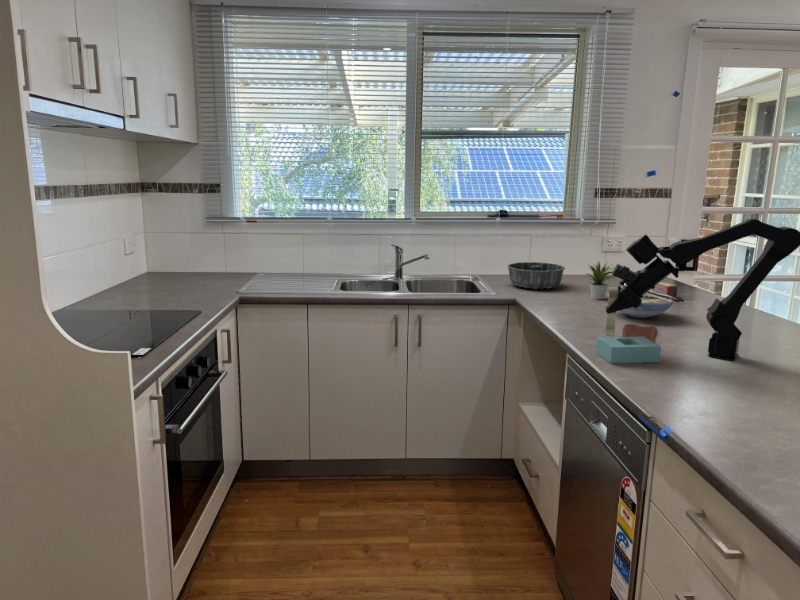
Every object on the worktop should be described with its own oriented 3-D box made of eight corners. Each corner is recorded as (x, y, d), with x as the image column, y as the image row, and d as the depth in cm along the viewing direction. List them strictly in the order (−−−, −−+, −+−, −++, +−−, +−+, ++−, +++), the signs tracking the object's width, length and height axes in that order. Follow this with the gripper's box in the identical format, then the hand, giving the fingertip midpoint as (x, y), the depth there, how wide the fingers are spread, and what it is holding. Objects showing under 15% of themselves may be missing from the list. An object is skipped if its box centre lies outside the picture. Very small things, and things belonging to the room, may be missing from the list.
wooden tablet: (624, 326, 193) (624, 321, 193) (655, 329, 189) (656, 324, 189) (618, 346, 170) (618, 340, 169) (654, 350, 165) (654, 344, 165)
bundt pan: (563, 293, 249) (565, 271, 247) (503, 290, 256) (504, 268, 254) (563, 283, 274) (565, 263, 272) (509, 280, 281) (510, 261, 279)
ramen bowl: (592, 310, 215) (594, 289, 214) (645, 307, 220) (647, 287, 218) (631, 325, 191) (633, 302, 190) (690, 322, 196) (692, 299, 194)
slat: (605, 332, 169) (609, 286, 166) (614, 333, 168) (617, 287, 165) (605, 335, 165) (609, 289, 163) (614, 336, 165) (618, 289, 162)
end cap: (595, 352, 161) (596, 337, 160) (641, 351, 162) (642, 336, 161) (610, 363, 151) (611, 347, 150) (659, 362, 152) (660, 346, 151)
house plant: (603, 304, 226) (607, 263, 223) (573, 298, 236) (576, 260, 233) (621, 299, 236) (624, 260, 232) (591, 294, 246) (594, 257, 242)
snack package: (678, 299, 237) (679, 283, 236) (666, 300, 235) (667, 284, 234) (640, 290, 257) (642, 275, 256) (629, 291, 255) (630, 276, 253)
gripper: (629, 251, 169) (588, 285, 175) (632, 259, 152) (586, 296, 158) (655, 279, 168) (613, 312, 174) (661, 289, 151) (614, 325, 157)
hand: (606, 310), depth 166 cm, fingers closed on slat, 4 cm apart
